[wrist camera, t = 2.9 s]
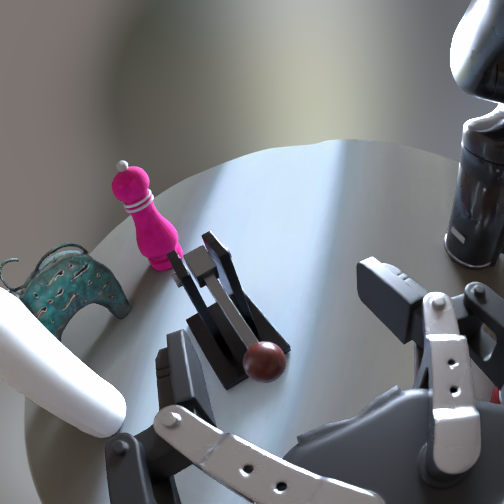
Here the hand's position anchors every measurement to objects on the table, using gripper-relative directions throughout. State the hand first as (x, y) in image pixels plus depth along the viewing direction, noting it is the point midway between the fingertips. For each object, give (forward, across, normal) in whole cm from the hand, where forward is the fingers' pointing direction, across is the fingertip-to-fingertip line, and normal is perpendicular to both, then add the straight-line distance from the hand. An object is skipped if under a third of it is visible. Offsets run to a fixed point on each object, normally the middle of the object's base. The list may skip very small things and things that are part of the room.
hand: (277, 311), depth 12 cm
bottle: (+14, +23, +20) cm, 34 cm away
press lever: (+12, +2, +10) cm, 16 cm away
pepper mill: (+40, +9, +15) cm, 43 cm away
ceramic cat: (+27, +25, +18) cm, 41 cm away
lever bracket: (+19, +2, +18) cm, 26 cm away
